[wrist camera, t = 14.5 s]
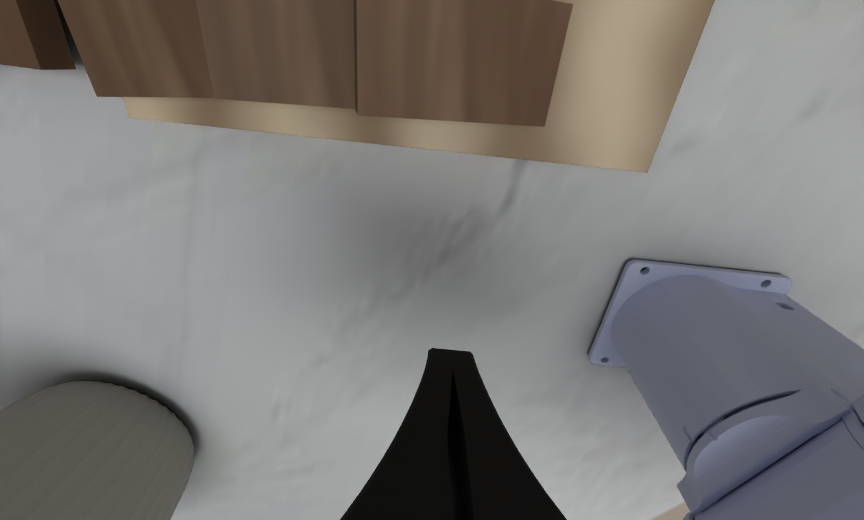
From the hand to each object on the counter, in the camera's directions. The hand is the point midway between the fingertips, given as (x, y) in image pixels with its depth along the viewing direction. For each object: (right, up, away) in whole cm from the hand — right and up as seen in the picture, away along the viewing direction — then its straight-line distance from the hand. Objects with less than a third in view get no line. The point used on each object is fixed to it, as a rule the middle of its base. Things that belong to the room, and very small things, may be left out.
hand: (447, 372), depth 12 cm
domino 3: (-7, +13, +4) cm, 15 cm away
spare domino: (+4, +12, +4) cm, 13 cm away
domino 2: (-1, +12, +4) cm, 13 cm away
